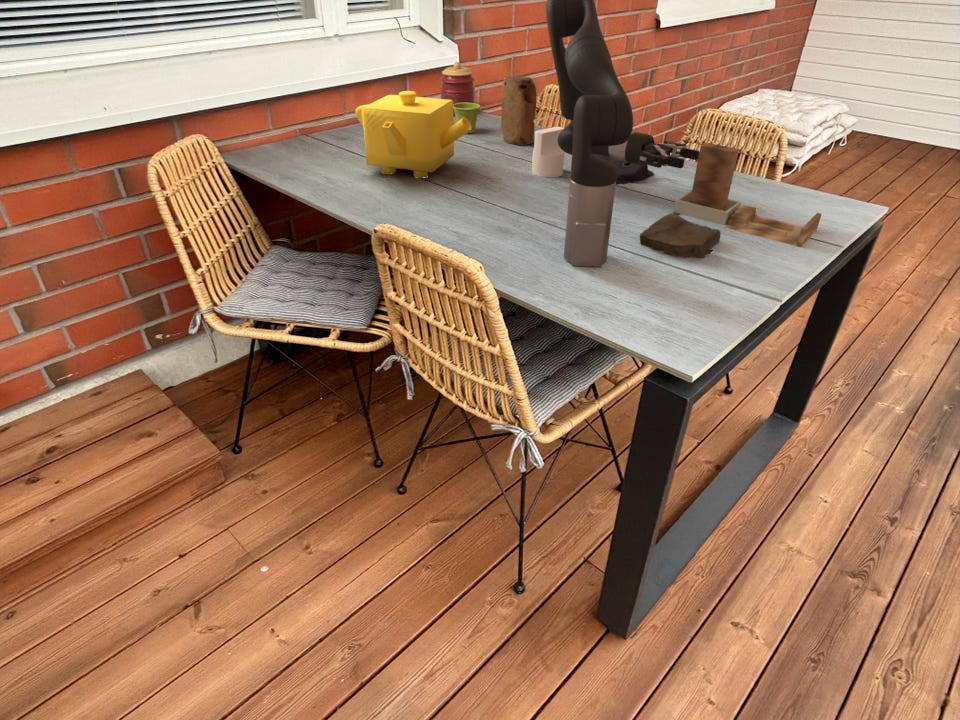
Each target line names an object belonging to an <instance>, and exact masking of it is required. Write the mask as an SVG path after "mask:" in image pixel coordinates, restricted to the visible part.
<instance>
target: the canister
mask: <svg viewBox="0 0 960 720" xmlns="http://www.w3.org/2000/svg"><path fill="white" fill-rule="evenodd" d="M461 65H462V64H461V63H460V61H455V62H454V63H453V66H449V67H446V68H445V69H444V70H442V71H441V74H442V76H441V77H440V78H439V82H441V83H440V84H441V85H440V88H439V90H440V99H447V100H453V104H456V103H475V90H476V88H475V86H474V82H475V80H476V78H475V77H474V76H473V73H474V72H473V70H472V69H470V68H468V67H466V66H461ZM453 117H455V112H454V108H453Z"/></svg>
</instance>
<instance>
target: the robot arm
mask: <svg viewBox="0 0 960 720" xmlns="http://www.w3.org/2000/svg"><path fill="white" fill-rule="evenodd" d="M545 3H546V4H545V14H546V16H545V17H546V24H547V26H546V27H547V31H548V37H549V43H550V47H551V54H552V58H553V64H554V69H555V73H556V77H557V82H558V83H557V84H558V93H559V95H558V96H559V107H560V113H561V115H562V117H563V118H564V119H566V120H570V122H569V123H568V124H567V125H566V126H565V127H563V128H564V129H563V130H562V131H561V132H560V134H559V136H558V145H559V147H560V148H561V149H562V150H563V151H564V152H565V154H569V155H571V161H570V162H571V167H570V179H569V181H570V182H569V191H568V201H567V213H566V215H567V216H566V222H565V223H566V224H565V225H566V226H565V236H564V237H565V239H564V250H563V257H564V259H565V260H566V261H567V262H569V263H570V264H571V265H572V266H574V267H596V268H597V267H602V264H604V263H605V262H606V261H607V258H608V249H609V243H610V242H609V241H610V234H611V224H612V218H613V209H614V203H615V202H614V201H615V195H616V187H617V184H616V180H617V167H616V166H615V165H614V164H613V163H611V162H609V161H607V160H604V159H602V158H599V157H597V156H595V155H602V156H606V157H611V158H614V159H617V160H620V161H624V162H628V163H633V164H637V165H645V164H646V165H647V166H650V167H655V168H657V169H659V168H661V169H662V167H672V168H676V169H683V168H684V165H685V161H686V160H685V159H687V160H693V161H698V157H699V152H700V150H698V149H694V148H687V144H685V143H679V142H676V141H675V142H673V141H669V140H664V141H663V142H658V143H656V142H655V139H654V137H653V135H651V134H648V133H643V132H638V131H633V129H634V115H633V109H632V105H631V102H630V99H629V97H628V95H627V93H626V91H625V89H624V88H623V86H622V84H621V82H620V80H619V79H618V78H619V77H618V76H617V74H616V71H615V68H614V64H613V61H612V57H611V54H610V51H609V47H608V45H607V43H606V40H605V38H604V35H603V33H602V30H601V26H600V22H599V17H598V13H597V9H596V8H597V7H596V4H595V0H546V2H545ZM567 37H568V38H569V37H571V38H570V41H569V42H568V44H567V46H566V48H565V44H564V40H563V39H564V38H567Z"/></svg>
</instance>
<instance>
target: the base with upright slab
mask: <svg viewBox="0 0 960 720" xmlns="http://www.w3.org/2000/svg"><path fill="white" fill-rule="evenodd" d="M564 128H565V127H561V126H555V127H554V126H553V127H548V128H543V129H538V130H534V146H533V147H534V148H533V150H532V160H531V161H532V163H531V164H532V165H531V173H532V174H533V175H534V176H536V175H537V177H540V176H541V178H556V177H557V178H558V177H560V176H562V175H563V174H564V165H565V162H564V161H565V154H566V152H564V151H563V150H562V149H561V148H560V147H559V145H558V136H559V134H560V132H561V131H562V130H563V129H564Z"/></svg>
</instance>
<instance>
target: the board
mask: <svg viewBox="0 0 960 720" xmlns="http://www.w3.org/2000/svg"><path fill="white" fill-rule="evenodd" d="M739 152H740V148H735V147H731V146H726V145H725V146H724V145H720V144H715V143H710V142H705V143H702V144H701V145H700V148H699V157H698V159H697V164H696V169H695V172H694V173H695V175H694V179H693V182H692V183H693V184H692V188H691V190H692V193H691V198H690V203H694V204H698V205H702V206H706V207H710V208H714V209H718V210H722V211H725V209H726V204H727V200H728V199H729V195H730V191H731V185H732V182H733V179H734V178H733V177H734V173H735V168H736V165H737V160H738V155H739Z"/></svg>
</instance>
